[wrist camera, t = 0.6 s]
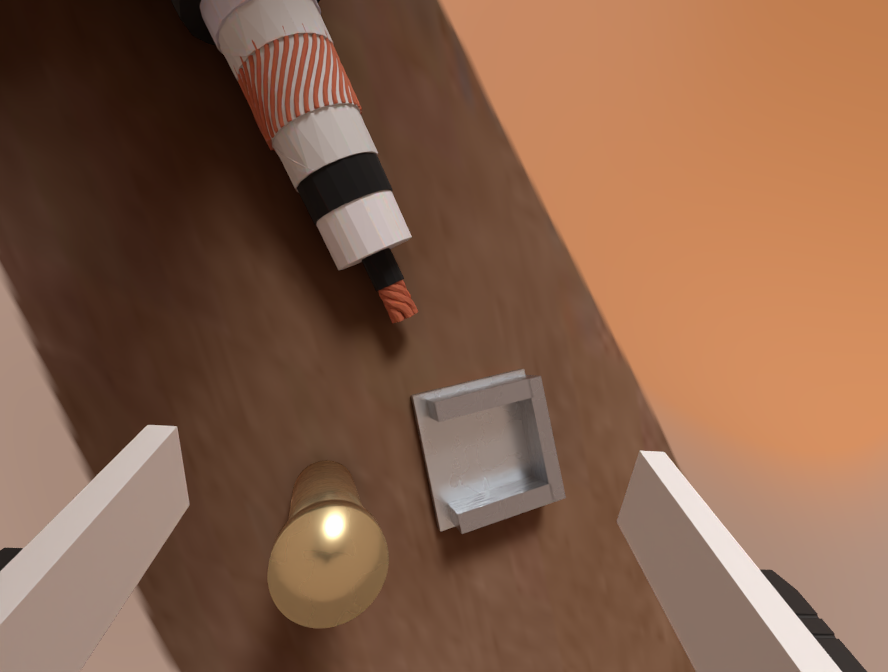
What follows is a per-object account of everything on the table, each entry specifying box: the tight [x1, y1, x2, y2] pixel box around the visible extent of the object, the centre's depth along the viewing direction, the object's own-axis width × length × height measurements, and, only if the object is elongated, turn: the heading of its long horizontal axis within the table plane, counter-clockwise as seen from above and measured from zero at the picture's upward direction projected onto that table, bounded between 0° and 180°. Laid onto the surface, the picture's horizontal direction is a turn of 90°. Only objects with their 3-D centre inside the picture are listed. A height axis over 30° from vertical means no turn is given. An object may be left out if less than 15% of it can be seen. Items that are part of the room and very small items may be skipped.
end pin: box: [268, 460, 388, 628], centre depth 27 cm, size 6×6×13 cm
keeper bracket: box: [411, 369, 566, 534], centre depth 36 cm, size 11×10×4 cm
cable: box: [171, 0, 418, 324], centre depth 31 cm, size 10×34×10 cm, turn 27°
